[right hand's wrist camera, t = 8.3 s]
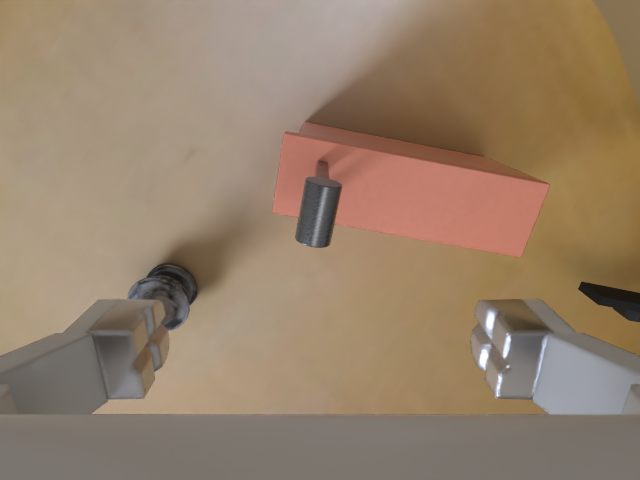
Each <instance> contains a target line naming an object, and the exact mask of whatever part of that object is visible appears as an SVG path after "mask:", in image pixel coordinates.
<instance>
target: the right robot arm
mask: <svg viewBox="0 0 640 480" xmlns="http://www.w3.org/2000/svg"><path fill="white" fill-rule="evenodd" d="M165 316H166V315H165V310H164V305H163V303H162V302H161V301H160V300H134V299H122V300H121V299H102V300H97V301H96V302H95V303H94V304H93V305H92V306H91V307H90V308H89V309H88V310H87V311H86V312H85V313H84V314H82V315H81V316H80V317H79V318H78V319H77V320H76V321H75V322H74V323H73V324H72V325H71V326H70V327H69V328H67V329H66V330H65V331H64V332H63V333H55V334H53V335H50V336H48V337H46V338H43V339H41V340H38V341H36V342H33V343H31V344H29V345H26V346H24V347H21V348H19V349H16V350H14V351H12V352H9V353H7V354H4V355H2V356H0V480H640V356H638V355H636V354H633V353H631V352H628V351H626V350H624V349H621V348H619V347H616V346H614V345H611V344H609V343H607V342H604V341H602V340H599V339H597V338H594V337H592V336H590V335H587V334H585V333H577V332H576V331H575V330H574V329H573V328H571V327H570V326H569V325H568V324H567V323H566V322H565V321H564V320H563V319H562V318H561V317H560V316H559V315H558V314H557V313H555V312H554V311H553V310H552V309H551V308H550V307H549V306H548V305H547V304H546V303H545V302H544V301H543V300H540V299H511V300H481V301H478V303H477V305H476V309H475V315H474V316H475V317H476V319H477V320H478V322H479V324H478V325H477V326H476V327H475V328H474V329H473V330H472V334H471V351H472V355H473V358H474V361H475V363H476V364H477V366H478V367H479V368H481V369H482V370H484V371H485V372H486V374H485V380H486V382H487V384H488V386H489V387H490V389H491V391H492V392H493V394H494V396H495V398H497V399H533V400H532V401H533V402H534V403H535V404H537V405H538V406H539V407H541V408H542V409H543V410H545V411H546V412H547V413H549V414H91V413H93V412H94V411H95V410H97V409H98V408H99V407H101V406H102V405H103V404H105V403H106V402H107V401H108V400H107V399H142V398H145V396H146V394H147V393H148V391H149V389H150V387H151V386H152V384H153V382H154V380H155V374H154V372H155V371H156V370H158V369H159V368H161V367H162V366H163V364H164V363H165V361H166V359H167V355H168V350H169V334H168V330H167V329H166V328H165V327H164V326H163V325H162V324H161V322H162V320H163V319H164V317H165Z"/></svg>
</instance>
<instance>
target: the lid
mask: <svg viewBox="0 0 640 480" xmlns="http://www.w3.org/2000/svg"><path fill="white" fill-rule="evenodd" d="M549 187H550V184H548V183H546V182H543V181H540V180H535V179H530V178H525V177H520V176H514V175H509V174H504V173H499V172H494V171H489V170H483V169H478V168H473V167H468V166H463V165H458V164H452V163H447V162H442V161H437V160H432V159H427V158H421V157H416V156H411V155H406V154H401V153H396V152H390V151H385V150H380V149H375V148H370V147H365V146H360V145H354V144H349V143H344V142H339V141H334V140H329V139H323V138H318V137H313V136H308V135H303V134H298V133H292V132H287V131H286V132H285V133H284V138H283V144H282V151H281V157H280V164H279V171H278V177H277V184H276V190H275V197H274V204H273V210H272V212H273V213H276V214H281V215H287V216H292V217H298V223H297V229H296V235H295V238H296V240H297V241H298V242H300V243H301V244H304V245H307V246H310V247H318V248H322V247H327V246H329V245H330V243H331V238H332V233H333V228H334V224H337V225H342V226H348V227H354V228H359V229H365V230H370V231H376V232H381V233H387V234H393V235H398V236H404V237H409V238H415V239H420V240H426V241H431V242H437V243H443V244H448V245H454V246H459V247H465V248H470V249H476V250H482V251H487V252H493V253H498V254H504V255H509V256H515V257H522V254H523V252H524V249H525V247H526V244H527V242H528V239H529V237H530V234H531V232H532V229H533V227H534V224H535V222H536V219H537V217H538V214H539V212H540V209H541V207H542V204H543V202H544V199H545V197H546V195H547V192H548V190H549Z"/></svg>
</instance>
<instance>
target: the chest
mask: <svg viewBox="0 0 640 480" xmlns="http://www.w3.org/2000/svg"><path fill="white" fill-rule="evenodd" d="M299 134H303V135H308V136H313V137H318V138H323V139H329V140H334V141H339V142H344V143H349V144H354V145H360V146H365V147H370V148H375V149H380V150H385V151H390V152H396V153H401V154H406V155H411V156H416V157H421V158H427V159H432V160H437V161H442V162H447V163H452V164H458V165H463V166H468V167H473V168H478V169H483V170H489V171H494V172H499V173H504V174H509V175H514V176H520V177H525V178H530V179H535V180H539V179H536V178H534V177H531V176H529V175H527V174H524V173H522V172H519V171H517V170H515V169H512V168H510V167H507V166H505V165H503V164H500V163H498V162H495V161H493V160H491V159H488V158H486V157H482V156H477V155H472V154H467V153H462V152H457V151H452V150H446V149H441V148H436V147H431V146H426V145H421V144H416V143H411V142H406V141H401V140H395V139H390V138H385V137H380V136H375V135H370V134H365V133H360V132H355V131H349V130H344V129H339V128H334V127H329V126H324V125H319V124H314V123H309V122H304V124H303V126H302V128H301V130H300V132H299ZM540 181H541V180H540Z"/></svg>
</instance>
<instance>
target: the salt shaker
mask: <svg viewBox="0 0 640 480" xmlns="http://www.w3.org/2000/svg"><path fill="white" fill-rule="evenodd" d="M196 294H197V286H196V283H195V280H194V279H193V277H192V276H191V275H190V274H189V273H188V272H187V271H186V270H184V269H182V268H181V267H178V266H175V265H161V266H158V267H156V268H154V269H153V270H152V271H151V272H150V273H149V274H148V276H147V278H144V279H142V280H140V281H138V282H137V283H136V284H134V285H133V286H132V288H131V289H130V291H129V293H128V297H127V299H134V300H160V301H161V302H162V303H163V305H164V310H165V315H166V316H165V317H164V319H163V320H162V322H161V324H162V325H163V326H164V327H165V328H166V329H167V330H168V331H171V330H174V329H176V328H178V327H180V326H181V325H182V324H183V323H184V322H185V320H186V319H187V317H188V314H189V311H190V308H189V305H191V304H192V303H193V301H194V300H195V298H196Z"/></svg>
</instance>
